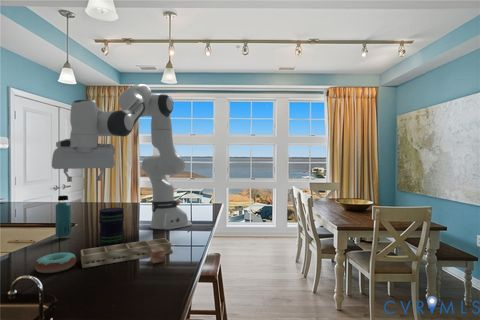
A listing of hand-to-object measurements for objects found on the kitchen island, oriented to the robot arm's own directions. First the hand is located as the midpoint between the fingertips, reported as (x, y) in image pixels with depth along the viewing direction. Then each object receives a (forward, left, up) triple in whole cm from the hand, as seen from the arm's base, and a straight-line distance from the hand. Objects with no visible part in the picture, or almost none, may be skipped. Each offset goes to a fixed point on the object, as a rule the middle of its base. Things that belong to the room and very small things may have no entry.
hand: (84, 181), depth 107 cm
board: (-14, +3, -28) cm, 32 cm away
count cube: (-22, +15, -29) cm, 39 cm away
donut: (+9, +4, -29) cm, 31 cm away
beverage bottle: (+7, -39, -29) cm, 48 cm away
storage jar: (-11, -17, -29) cm, 35 cm away
